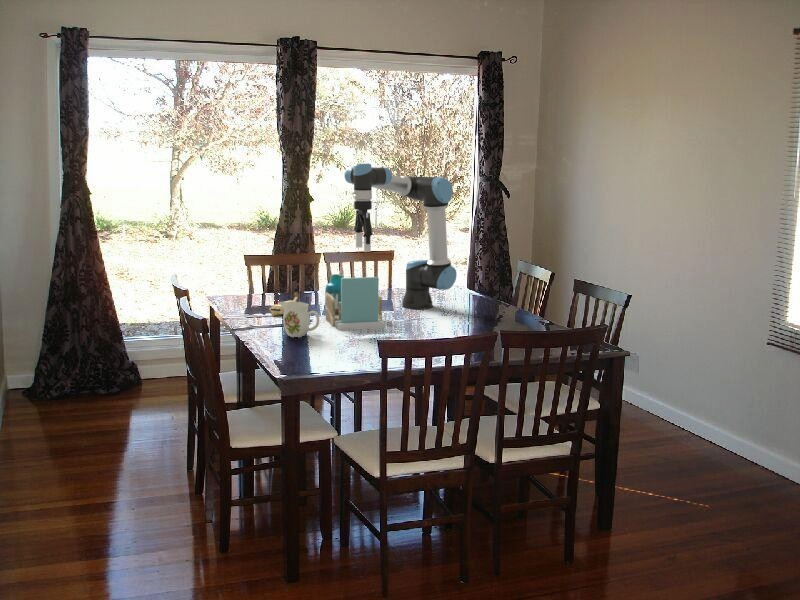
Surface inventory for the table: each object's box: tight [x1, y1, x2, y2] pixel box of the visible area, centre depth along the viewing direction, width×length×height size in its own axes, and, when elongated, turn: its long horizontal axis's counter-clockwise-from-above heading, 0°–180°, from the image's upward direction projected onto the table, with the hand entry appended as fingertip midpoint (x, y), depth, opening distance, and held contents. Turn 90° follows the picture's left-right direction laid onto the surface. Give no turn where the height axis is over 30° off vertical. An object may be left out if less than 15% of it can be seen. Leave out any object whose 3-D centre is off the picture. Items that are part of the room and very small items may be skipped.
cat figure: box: [269, 291, 302, 316], centre depth 381 cm, size 10×9×25 cm
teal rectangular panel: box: [341, 276, 380, 323], centre depth 342 cm, size 16×2×22 cm, turn 107°
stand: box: [334, 319, 385, 331], centre depth 344 cm, size 20×8×4 cm, turn 107°
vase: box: [324, 273, 343, 315], centre depth 372 cm, size 11×11×19 cm
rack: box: [325, 293, 383, 327], centre depth 354 cm, size 22×15×14 cm
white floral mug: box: [277, 301, 321, 338], centre depth 331 cm, size 11×18×14 cm, turn 77°
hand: (363, 249), depth 345 cm, fingers open, 13 cm apart
